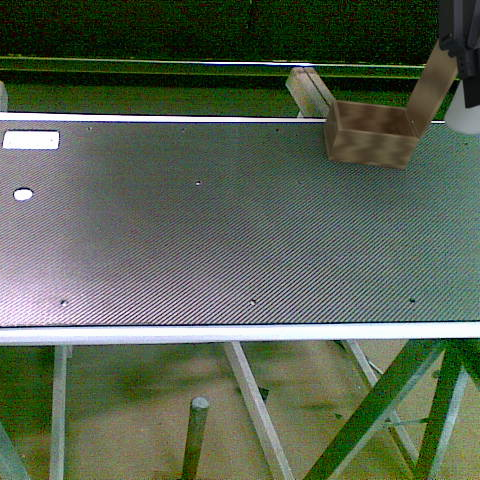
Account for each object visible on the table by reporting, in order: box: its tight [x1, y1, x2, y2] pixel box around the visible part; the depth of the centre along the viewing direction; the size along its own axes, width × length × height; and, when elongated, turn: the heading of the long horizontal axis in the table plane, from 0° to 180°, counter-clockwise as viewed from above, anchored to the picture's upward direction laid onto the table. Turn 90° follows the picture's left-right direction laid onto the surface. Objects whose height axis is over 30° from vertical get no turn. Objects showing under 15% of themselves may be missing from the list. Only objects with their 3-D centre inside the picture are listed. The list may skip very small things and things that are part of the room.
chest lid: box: [405, 34, 458, 139], centre depth 85 cm, size 15×12×10 cm
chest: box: [322, 99, 421, 170], centre depth 94 cm, size 15×12×7 cm
